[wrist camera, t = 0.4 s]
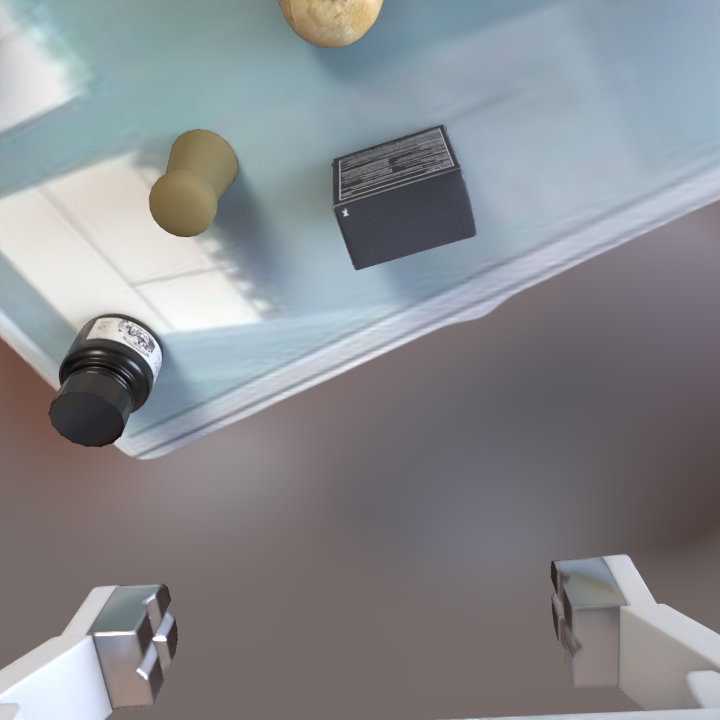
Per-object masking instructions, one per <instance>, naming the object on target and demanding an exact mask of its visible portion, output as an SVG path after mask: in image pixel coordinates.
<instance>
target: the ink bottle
mask: <svg viewBox="0 0 720 720" xmlns="http://www.w3.org/2000/svg"><path fill="white" fill-rule="evenodd" d="M162 361H163V349H162V345H161V343H160V341H159V339H158V338H157V336H156V335H155V334H154V332H153V331H152V330H151V329H150V328H148V327H147V326H146V325H145V324H143V323H142V322H140V321H138V320H136V319H134V318H132V317H129V316H126V315H122V314H106V315H102V316H99V317H96V318H94V319H92V320H91V321H89V322H88V323H87V324H86V325H85V326H84V327H83V328H82V329H81V331H80V332H79V334H78V336H77V337H76V339H75V341H74V343H73V344H72V346H71V348H70V349H69V351H68V353H67V354H66V356H65V358H64V360H63V361H62V364H61V366H60V370H59V381H60V384H61V387H60V389H59V391H58V393H57V394H56V396H55V398H54V400H53V401H52V403H51V408H50V411H49V416H50V419H51V422H52V426H54V427H55V429H56V430H57V431H58V432H59V434H60V435H61V436H64V437H65V438H67V439H68V440H70V441H71V442H73V443H77V444H81V445H84V446H87V447H89V446H95V447H102V446H104V445H108V444H112V443H114V441H116V440H117V439H118V438H119V437H121V435H122V433H123V431H124V428H125V426H126V423H127V421H128V418H129V416H130V414H131V413H133V412H135V411H137V410H138V409H139V408H141V407H142V406H143V405H144V403H145V402H146V401H147V399H148V397H149V395H150V393H151V390H152V389H153V386H154V384H155V381H156V378H157V376H158V373H159V370H160V368H161V364H162Z"/></svg>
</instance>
